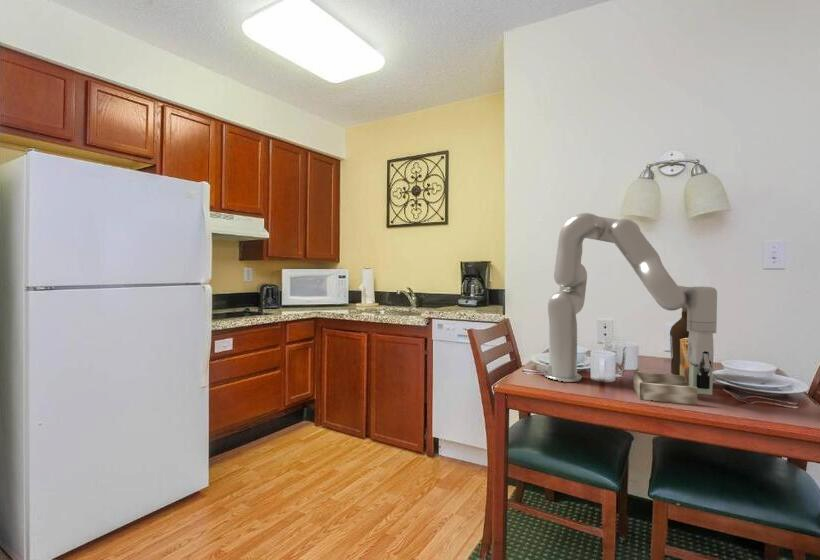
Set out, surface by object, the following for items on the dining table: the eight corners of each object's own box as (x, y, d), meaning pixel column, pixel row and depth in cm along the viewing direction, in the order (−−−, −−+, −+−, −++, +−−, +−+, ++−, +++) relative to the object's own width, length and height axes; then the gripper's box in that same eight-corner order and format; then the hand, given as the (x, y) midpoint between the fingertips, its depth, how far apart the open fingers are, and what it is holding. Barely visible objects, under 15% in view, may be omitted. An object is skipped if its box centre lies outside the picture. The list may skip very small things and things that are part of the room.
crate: (639, 399, 132) (639, 383, 132) (633, 386, 146) (633, 371, 146) (697, 404, 127) (697, 387, 126) (684, 390, 141) (684, 375, 140)
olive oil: (705, 374, 161) (707, 307, 161) (698, 379, 154) (700, 310, 153) (673, 369, 169) (674, 305, 168) (665, 374, 162) (666, 307, 161)
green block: (692, 393, 131) (693, 366, 131) (688, 388, 136) (689, 363, 136) (712, 394, 129) (712, 368, 129) (707, 390, 134) (707, 364, 134)
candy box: (712, 386, 146) (713, 341, 145) (707, 388, 144) (708, 342, 143) (684, 380, 153) (685, 337, 153) (678, 382, 151) (679, 338, 150)
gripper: (680, 322, 141) (679, 378, 142) (694, 330, 125) (693, 392, 126) (707, 323, 139) (706, 380, 139) (725, 331, 123) (723, 395, 123)
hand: (700, 385), depth 133 cm, fingers closed on green block, 5 cm apart
